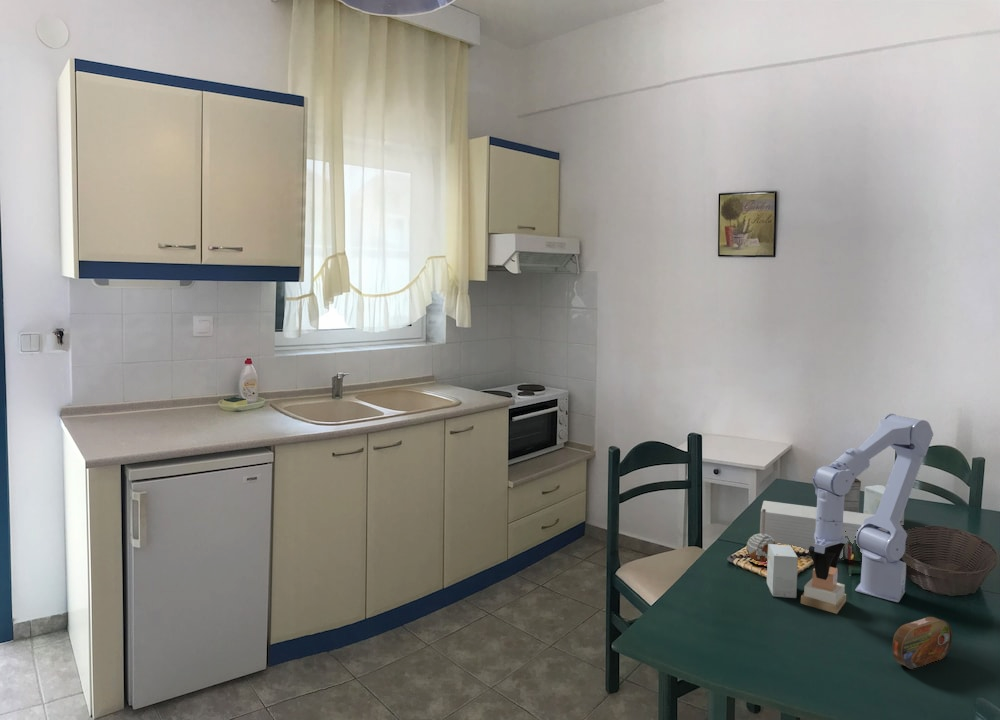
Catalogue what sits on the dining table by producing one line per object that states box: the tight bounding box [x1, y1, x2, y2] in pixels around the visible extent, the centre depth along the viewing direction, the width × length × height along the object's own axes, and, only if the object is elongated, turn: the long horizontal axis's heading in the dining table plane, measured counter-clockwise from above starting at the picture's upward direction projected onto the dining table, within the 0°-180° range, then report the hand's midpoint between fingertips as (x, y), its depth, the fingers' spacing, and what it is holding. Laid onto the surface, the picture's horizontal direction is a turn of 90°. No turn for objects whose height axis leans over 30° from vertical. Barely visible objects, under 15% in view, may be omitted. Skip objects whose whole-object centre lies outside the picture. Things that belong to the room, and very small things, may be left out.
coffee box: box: [844, 477, 862, 513], centre depth 212 cm, size 9×6×16 cm
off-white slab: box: [803, 578, 846, 605], centre depth 162 cm, size 7×7×2 cm
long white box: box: [759, 500, 889, 560], centre depth 195 cm, size 32×11×11 cm, turn 65°
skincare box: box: [863, 484, 905, 526], centre depth 217 cm, size 10×6×10 cm, turn 14°
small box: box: [766, 544, 799, 599], centre depth 168 cm, size 8×6×10 cm
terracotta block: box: [811, 567, 839, 591], centre depth 162 cm, size 4×4×4 cm
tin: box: [892, 616, 953, 670], centre depth 137 cm, size 15×3×8 cm, turn 114°
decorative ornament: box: [746, 508, 776, 562], centre depth 185 cm, size 8×8×15 cm
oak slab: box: [800, 592, 847, 615], centre depth 163 cm, size 8×8×2 cm
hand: (826, 573), depth 162 cm, fingers open, 7 cm apart
